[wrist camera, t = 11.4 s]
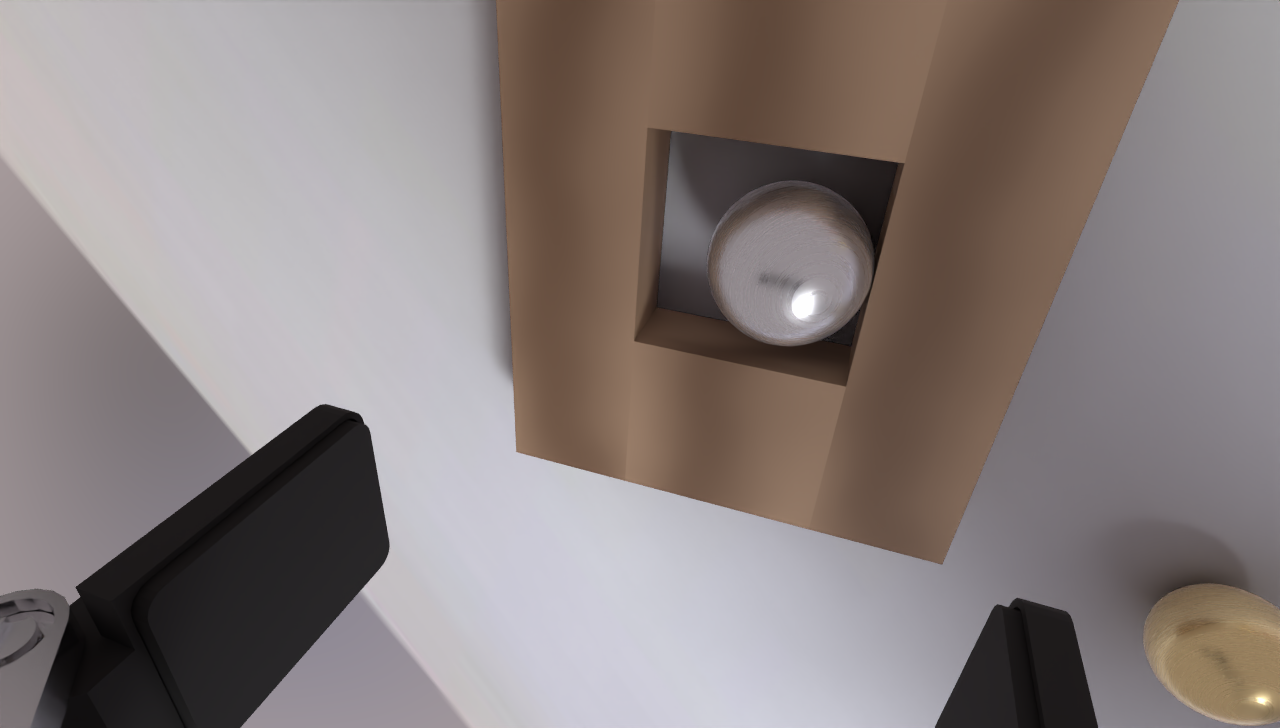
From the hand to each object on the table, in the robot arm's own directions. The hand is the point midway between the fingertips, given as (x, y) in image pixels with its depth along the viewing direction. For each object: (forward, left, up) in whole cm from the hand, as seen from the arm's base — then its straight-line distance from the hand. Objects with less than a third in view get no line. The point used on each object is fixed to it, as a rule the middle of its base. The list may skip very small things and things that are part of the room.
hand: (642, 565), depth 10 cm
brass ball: (-16, +10, -12) cm, 22 cm away
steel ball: (-1, 0, -11) cm, 11 cm away
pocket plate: (0, 0, -14) cm, 14 cm away
